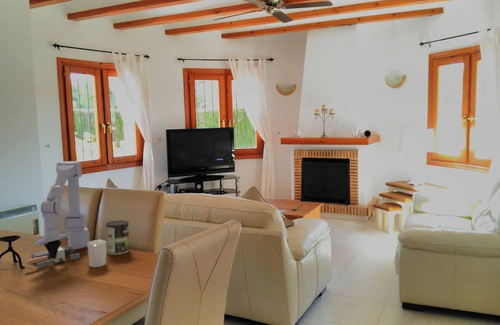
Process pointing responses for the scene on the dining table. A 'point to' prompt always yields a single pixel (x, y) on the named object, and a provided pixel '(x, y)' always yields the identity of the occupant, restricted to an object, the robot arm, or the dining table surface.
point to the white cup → (97, 253)
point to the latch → (37, 259)
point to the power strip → (49, 262)
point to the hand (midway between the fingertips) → (53, 258)
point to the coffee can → (117, 237)
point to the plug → (60, 256)
